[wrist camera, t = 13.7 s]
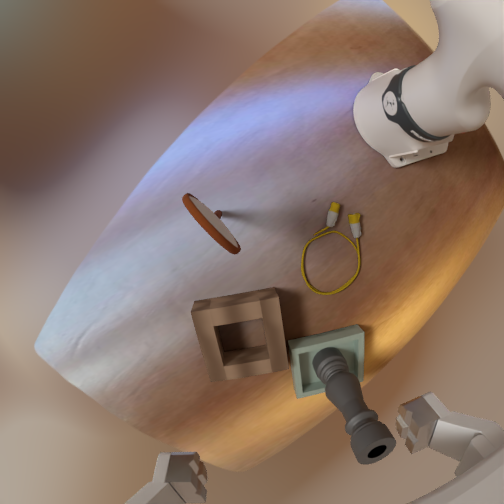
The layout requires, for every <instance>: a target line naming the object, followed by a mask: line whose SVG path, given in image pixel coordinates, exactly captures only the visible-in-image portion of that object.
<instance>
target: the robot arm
mask: <svg viewBox="0 0 504 504" xmlns="http://www.w3.org/2000/svg"><path fill="white" fill-rule="evenodd" d="M430 3H431V7H432V10H433V12H434V14H435V17H436V20H437V23H438V29H439V43H438V46H437V48H436V50H435V51H434V53H433V54H432V55H430V56H429V57H428V58H427V59H425V60H424V61H422V62H421V63H419V64H418V65H414V66H410V67H408V68H405V69H403V70H399V69H393V70H391V71H389V72H387V73H385V74H383V73H380V72H376V73H374V74H372V76H371V78H370V80H369V83H368V84H367V85H366V86H365V87H364V88H363V89H361V90H360V92H359V93H358V94H357V96H356V98H355V102H354V108H353V113H354V119H355V123H356V126H357V128H358V131H359V133H360V134H361V136H362V137H363V139H364V140H365V141H366V142H367V143H368V144H369V145H370V146H371V147H372V148H373V149H375V150H376V151H378V152H379V153H381V154H382V155H383V156H384V157H385V158H386V159H387V161H388V162H389V163H390V165H391V166H392V167H394V168H398V167H401V166H404V165H407V164H410V163H413V162H417V161H420V160H423V159H426V158H429V157H432V156H435V155H438V154H441V153H444V152H446V151H447V148H448V142H450V141H452V140H453V138H454V134H458V133H465V132H469V131H475V130H477V129H478V128H480V127H481V126H482V125H483V124H484V123H485V122H486V120H487V118H488V116H489V113H490V105H491V103H490V92H489V87H491V88H494V89H495V90H496V91H497V92H498V93H499V94H500V95H501V96H502V98H503V99H504V0H430ZM400 158H401V159H402V161H400ZM398 413H399V416H398V417H397V419H396V429H397V431H398V434H399V435H400V437H401V438H404V439H406V442H405V445H406V447H407V448H408V450H409V451H410V453H411V454H413V453H415V452H418V451H420V450H422V449H424V448H426V447H428V446H429V448H431V449H433V450H436V451H438V452H440V453H442V454H444V455H446V456H449V457H451V458H453V459H456V460H458V461H460V463H459V465H458V467H457V468H456V470H455V475H456V476H457V477H456V478H454V479H453V480H451V481H449V482H448V483H446V484H444V485H442V486H441V487H439V488H437V489H435V490H433V491H431V492H430V493H428V494H426V495H424V496H422V497H420V498H418V499H416V500H414V501H412V502H410V503H407V504H504V430H503V429H502V427H500V425H499V424H498V423H497V422H495V421H491V420H486V419H482V418H478V417H474V416H470V415H465V414H462V413H458V412H455V411H453V412H450V411H449V410H448V409H447V408H446V407H445V406H444V405H443V403H442V402H441V401H440V400H439V399H438V398H437V397H436V396H435V394H434V393H433V392H428V393H426V394H424V395H422V396H420V397H417V398H415V399H412V400H410V401H408V402H406V403H403V404H401V405H400V406H399V407H398ZM199 460H200V456H199V454H198V453H197V452H161V453H160V454H159V455H158V459H157V464H156V468H155V472H154V476H153V481H152V482H148V483H147V484H146V485H145V486H144V487H143V488H142V489H140V490H139V491H138V492H137V493H136V494H135V495H134V496H132V497H131V498H130V499H129V500H128V501H126V502H125V503H124V504H186V503H206V494H207V490H206V489H205V487H204V485H205V484H206V483H207V470H206V468H205V465H204V463H203V462H201V461H199Z"/></svg>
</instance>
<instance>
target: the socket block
mask: <svg viewBox="0 0 504 504" xmlns="http://www.w3.org/2000/svg"><path fill="white" fill-rule="evenodd" d="M191 315H192V319H193V322H194V326H195V330H196V333H197V337H198V341H199V344H200V348H201V351H202V355H203V358H204V361H205V365H206V368H207V371H208V375H209V378H210V381H211V382H215V381H223V380H230V379H237V378H243V377H249V376H255V375H261V374H266V373H272V372H277V371H282V370H287V369H289V366H288V359H287V351H286V344H285V337H284V330H283V323H282V316H281V310H280V303H279V297H278V295H277V292H276V290H275V288H274V287H273V288H267V289H262V290H256V291H251V292H245V293H240V294H234V295H228V296H222V297H217V298H211V299H205V300H198V301H194V304H193V307H192V310H191ZM259 318H262V322H263V327H264V333H265V339H266V344H267V345H263V346H257V347H252V348H246V349H240V350H234V351H227V352H224V349H223V345H222V341H221V337H220V333H219V329H218V326H219V325H225V324H231V323H237V322H243V321H248V320H254V319H259Z"/></svg>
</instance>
